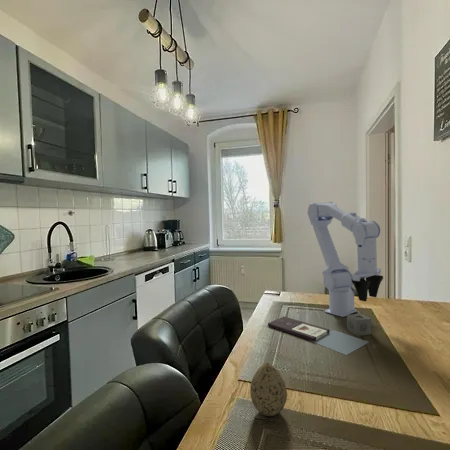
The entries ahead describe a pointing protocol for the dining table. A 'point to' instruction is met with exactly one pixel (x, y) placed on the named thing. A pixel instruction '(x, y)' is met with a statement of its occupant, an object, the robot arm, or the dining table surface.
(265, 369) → the decorative egg
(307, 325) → the chocolate bar
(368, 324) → the light grey cube
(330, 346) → the mat
